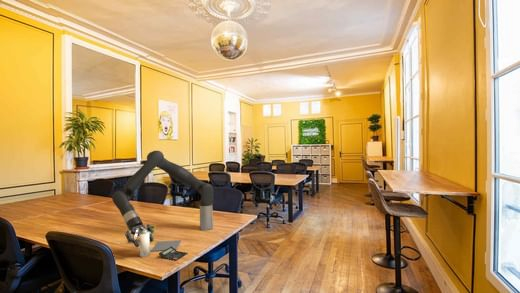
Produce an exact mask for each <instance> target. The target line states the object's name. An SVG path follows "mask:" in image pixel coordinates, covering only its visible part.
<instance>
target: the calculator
mask: <svg viewBox="0 0 520 293" xmlns="http://www.w3.org/2000/svg"><path fill="white" fill-rule="evenodd" d="M158 255H159V256H160V257H161V259H164V260H167V259H169V260H168V261H173V260H174V261H173V262H177V261H179V260H180V259H181V258H184V257H185V256H186V255H188V252H185V251H178V250H177V249H176V250H175V249H174V248H173V247H172V246H171V247H170V248H168V249H166V250H164V251H159V253H158Z"/></svg>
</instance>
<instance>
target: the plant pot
mask: <svg viewBox="0 0 520 293" xmlns="http://www.w3.org/2000/svg"><path fill="white" fill-rule="evenodd" d="M150 226H151V228H152V229H153V231H154V232H153V233H152V236H153V238H154V237H155V236H154V235H155V230H156V228H157V227H156V226H155V225H150ZM145 229H146V228H145ZM154 239H155V238H154Z"/></svg>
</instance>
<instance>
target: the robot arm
mask: <svg viewBox="0 0 520 293" xmlns="http://www.w3.org/2000/svg"><path fill="white" fill-rule="evenodd" d="M156 168H158V169H160V170H162V171H164V172H165V173H167V175H170V177H172V178H174V179H175V180H177V181H179V182H180V183H182V184H184V185H186V186H189V187H190V188H192V189H193V190H195V191H196V192H198V194H200V201H199V229H200V231H210V230H213V228H214V214H213V203H214V187H213V185H212V184H210V183H207V182H205V181H203V180H201V179H199V178H197V177H196V176H195V175H194V174H193V173H192V172H191V171H189V170H188V169H186V168H185V167H183V166H181V165H179V164H177V163H174V162H172V161H170V160H168V159H167V158H165V156H164V154H163V152H162V151H160V150H151V152H149V153H148V154H147V156H146V161H145V162H144V164H143V165H142V166H141V167H140V168H139V169H138V170H137V171H136V172H134V173H133V175H132V176H131V177H129V179H128V180H127V181H126V182H125V183H124V190H123V191H121V190H118V191H115V192H113V194H112V196H111V200H112V202H113V204H114V205H115V206H116V208H117V209H118V211H119V212H120V215H121V216H122V218H123V221H124V223H125V225H126V227H127V230H126V231H125V233H124V236H125V238H126V240H127V242H128V243H133V245H134V247H135V248H140V242H139V241H138V239H137V237H139V234H140V233H142V231H143V230H147V232H149V240H150V243H152V242H154V239H155V238H153V236H152V233H153V232H154V233H155V230H154V231H153V229H152V228H151V226H152V225H150V223H148V224H146V225H144V223H143V220H142V219H141V217H140V216H139V213H138V212H137V211H136V209H135V208H134V206H133V204H132V203H131V202H130V201H131V199H132V197H133V196H134V193H135V191H136V190H137V189H138V188H139V186H141V185H142V183H143V182H144V181H145V179H146V178H147V177H148V176H149V175H150V173H151V172H152V171H154V169H156ZM145 228H146V229H145Z"/></svg>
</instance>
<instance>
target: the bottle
mask: <svg viewBox="0 0 520 293" xmlns="http://www.w3.org/2000/svg"><path fill="white" fill-rule="evenodd" d="M138 238H139V257H140V258H147V257H149V256H150V255H151V254H150V253H151V249H150V243H151V242H150V240H149V232H147V230H143V231H142V233H140V234H139V236H138Z"/></svg>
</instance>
